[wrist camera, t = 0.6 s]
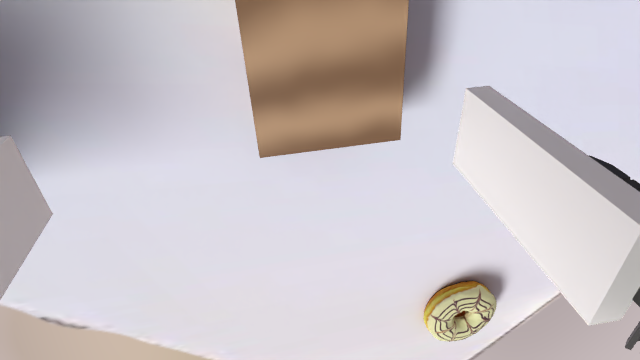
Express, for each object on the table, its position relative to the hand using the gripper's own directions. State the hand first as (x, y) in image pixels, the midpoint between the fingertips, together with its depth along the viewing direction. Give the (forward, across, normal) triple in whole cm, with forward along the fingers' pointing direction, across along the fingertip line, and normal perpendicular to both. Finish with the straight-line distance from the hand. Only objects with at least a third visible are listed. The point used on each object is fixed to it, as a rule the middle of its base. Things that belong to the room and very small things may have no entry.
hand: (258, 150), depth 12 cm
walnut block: (+26, +6, -6) cm, 28 cm away
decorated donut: (+26, +25, -44) cm, 57 cm away
